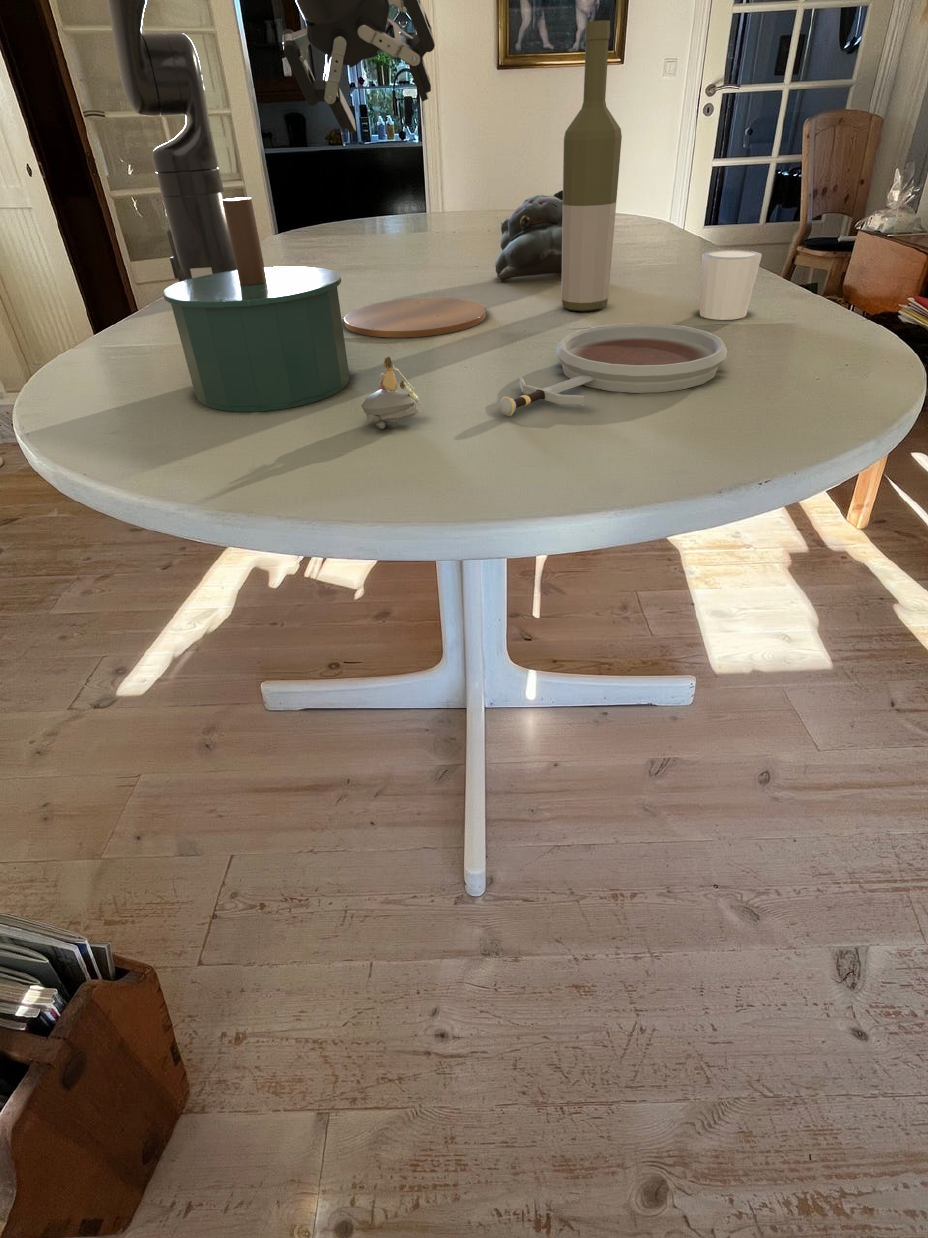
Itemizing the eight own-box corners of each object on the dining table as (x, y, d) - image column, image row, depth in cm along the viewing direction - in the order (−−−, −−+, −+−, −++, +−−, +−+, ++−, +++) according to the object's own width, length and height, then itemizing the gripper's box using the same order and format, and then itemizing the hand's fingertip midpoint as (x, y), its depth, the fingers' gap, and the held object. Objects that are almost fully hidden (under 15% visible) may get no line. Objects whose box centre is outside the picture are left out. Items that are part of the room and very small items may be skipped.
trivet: (315, 330, 94) (314, 323, 93) (397, 299, 107) (396, 294, 106) (437, 343, 85) (437, 336, 85) (510, 308, 99) (510, 302, 98)
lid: (127, 307, 67) (98, 209, 63) (253, 274, 79) (236, 189, 74) (259, 321, 60) (236, 211, 55) (376, 282, 72) (366, 188, 67)
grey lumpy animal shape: (479, 282, 114) (475, 190, 112) (520, 300, 123) (517, 216, 122) (561, 256, 105) (558, 156, 103) (598, 278, 114) (596, 186, 113)
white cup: (683, 312, 92) (690, 252, 88) (726, 305, 94) (735, 246, 90) (718, 323, 87) (728, 260, 83) (763, 315, 89) (774, 253, 85)
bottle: (586, 316, 93) (601, 16, 75) (547, 309, 97) (553, 24, 80) (621, 306, 96) (643, 18, 79) (581, 299, 101) (594, 25, 83)
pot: (164, 399, 73) (135, 299, 67) (270, 358, 83) (252, 269, 78) (279, 420, 66) (257, 311, 60) (378, 373, 77) (367, 277, 71)
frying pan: (439, 373, 68) (626, 311, 82) (441, 403, 69) (625, 337, 83) (573, 414, 57) (763, 335, 71) (572, 449, 59) (758, 365, 73)
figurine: (366, 434, 62) (356, 364, 58) (362, 417, 65) (353, 350, 62) (425, 427, 63) (420, 357, 59) (418, 411, 66) (413, 344, 63)
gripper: (383, -126, 62) (445, 61, 77) (241, -51, 65) (327, 114, 80) (391, -75, 59) (454, 108, 74) (243, 0, 63) (331, 161, 77)
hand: (388, 111), depth 77 cm, fingers open, 8 cm apart
